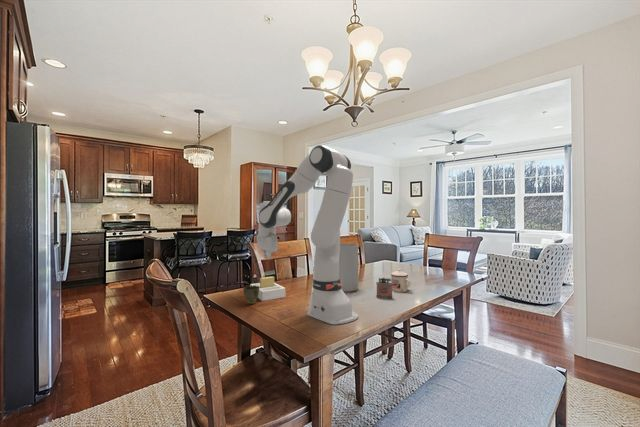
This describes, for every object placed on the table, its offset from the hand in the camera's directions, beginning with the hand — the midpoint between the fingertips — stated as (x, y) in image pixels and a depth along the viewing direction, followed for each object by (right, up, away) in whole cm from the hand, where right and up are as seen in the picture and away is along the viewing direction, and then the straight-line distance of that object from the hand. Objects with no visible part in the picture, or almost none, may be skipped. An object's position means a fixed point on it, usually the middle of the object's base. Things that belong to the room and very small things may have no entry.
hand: (267, 258), depth 152 cm
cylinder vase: (+43, -19, +11) cm, 48 cm away
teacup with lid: (+73, -19, +7) cm, 75 cm away
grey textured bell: (-5, -19, -14) cm, 25 cm away
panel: (0, -18, 0) cm, 18 cm away
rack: (0, -19, 0) cm, 19 cm away
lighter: (+60, -19, -5) cm, 64 cm away
